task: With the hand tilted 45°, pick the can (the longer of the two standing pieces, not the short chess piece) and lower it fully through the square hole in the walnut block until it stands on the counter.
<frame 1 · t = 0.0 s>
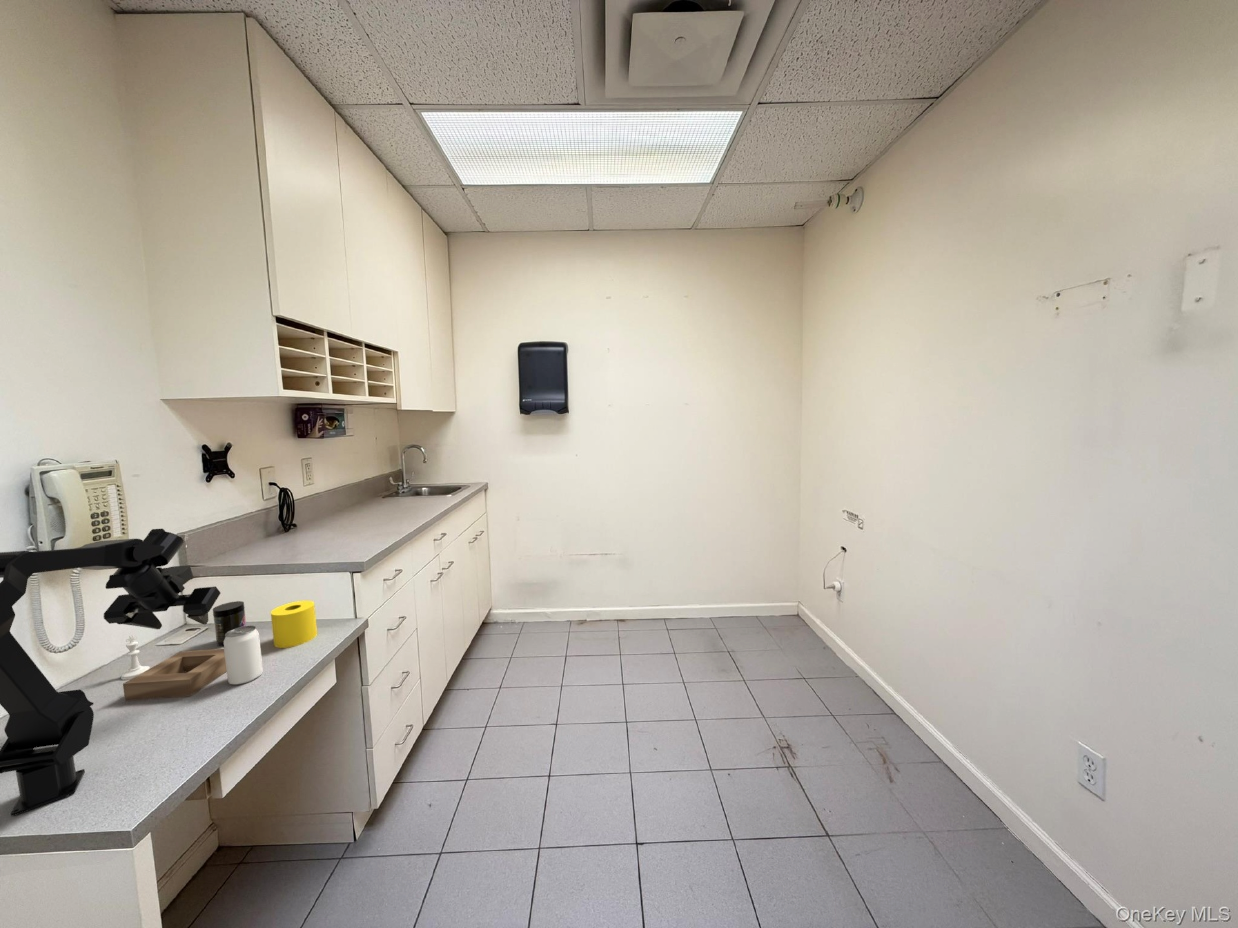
hand: (183, 625, 102), 15 cm above the table, tool tilted 35°, fingers open, 9 cm apart
can: (246, 678, 105), on the table
chess piece: (136, 674, 108), on the table
supplement container: (232, 641, 125), on the table
bored block: (186, 680, 105), on the table
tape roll: (296, 639, 125), on the table
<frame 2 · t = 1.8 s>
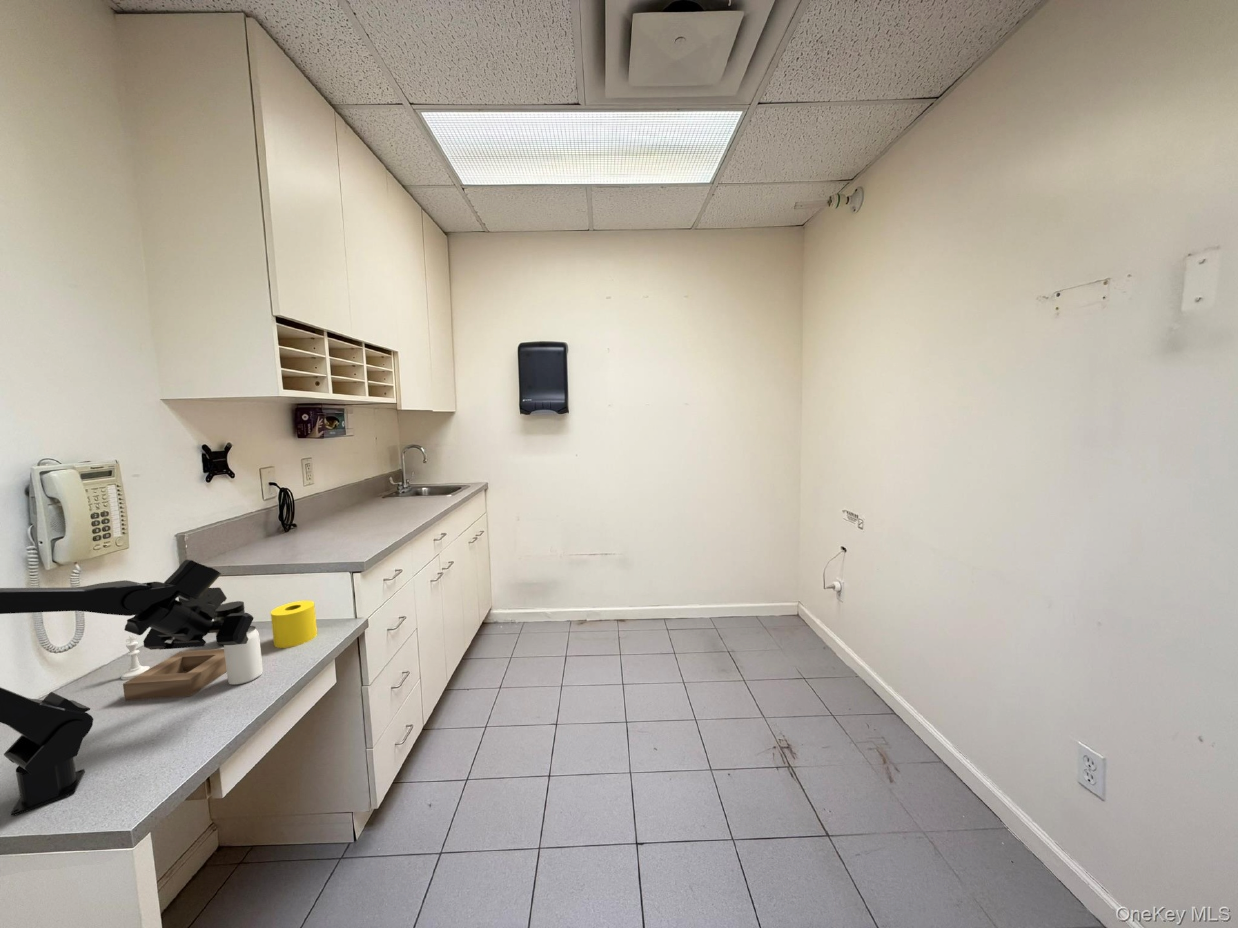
hand: (225, 642, 100), 11 cm above the table, tool tilted 45°, fingers open, 9 cm apart
nothing on the table moved.
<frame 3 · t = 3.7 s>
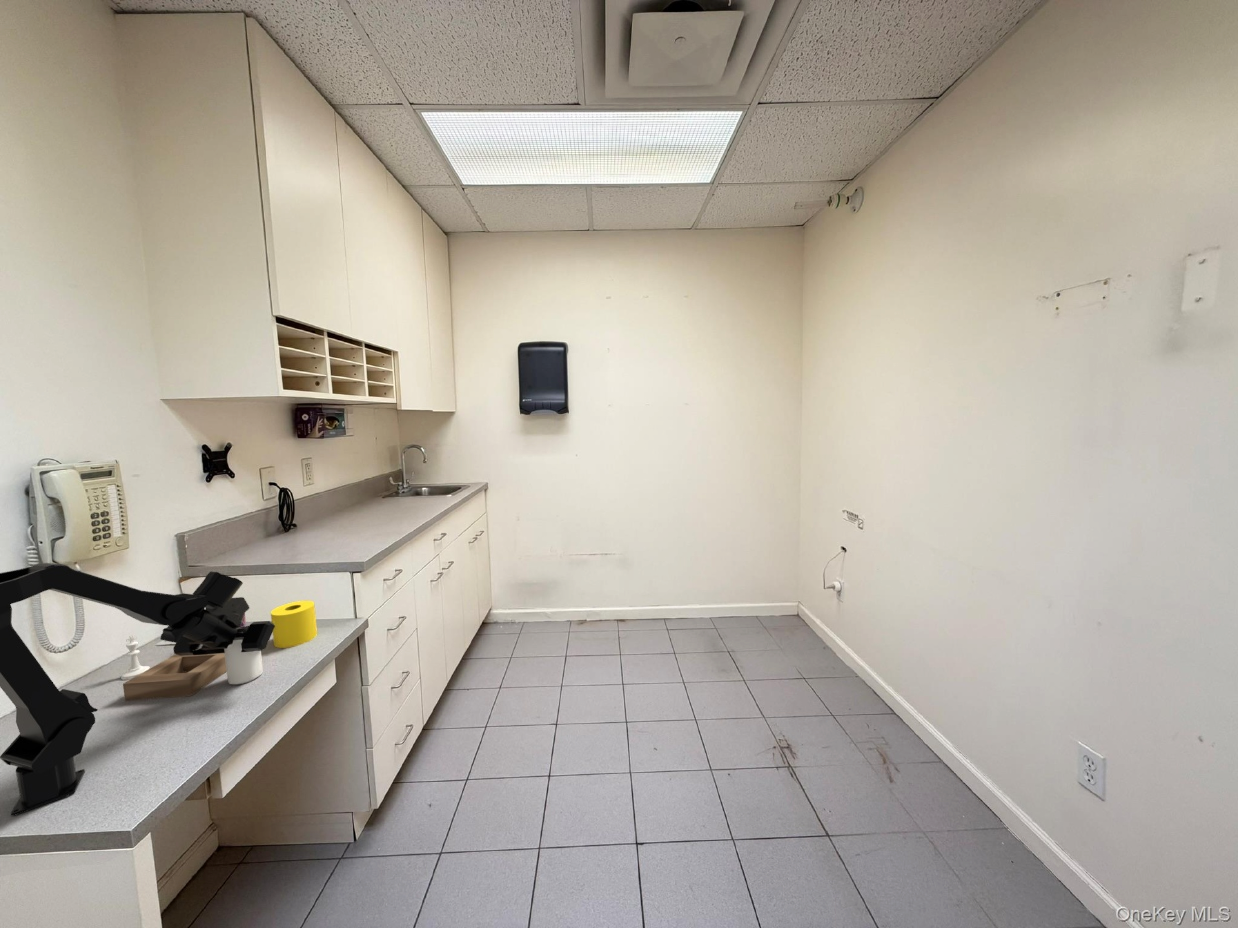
hand: (247, 648, 106), 7 cm above the table, tool tilted 45°, fingers closed on can, 6 cm apart
can: (246, 678, 105), on the table, touching gripper
everything else where it was.
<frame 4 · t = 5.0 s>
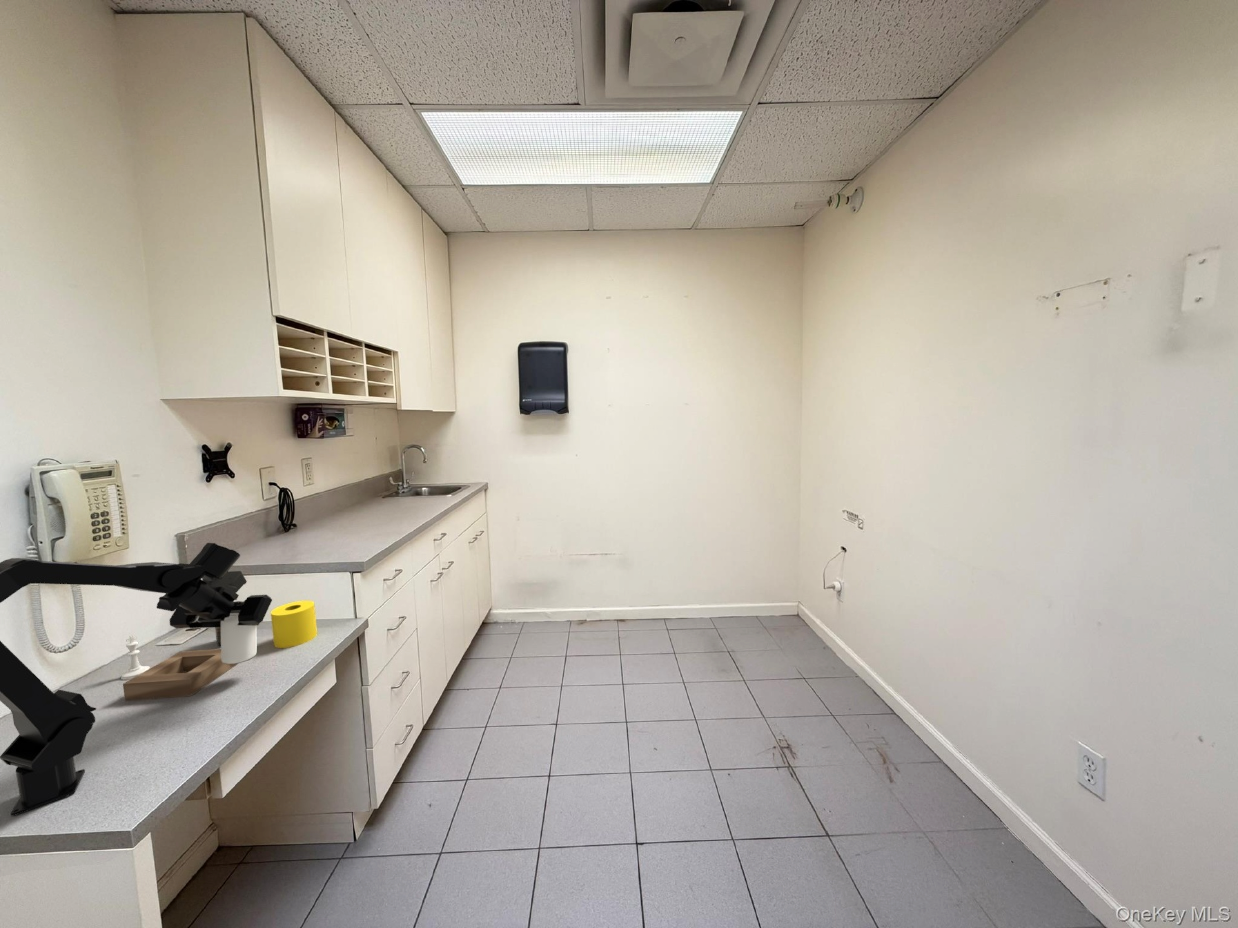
hand: (244, 624, 105), 13 cm above the table, tool tilted 45°, fingers closed on can, 6 cm apart
can: (239, 658, 105), point 5 cm above the table, touching gripper
everything else where it was.
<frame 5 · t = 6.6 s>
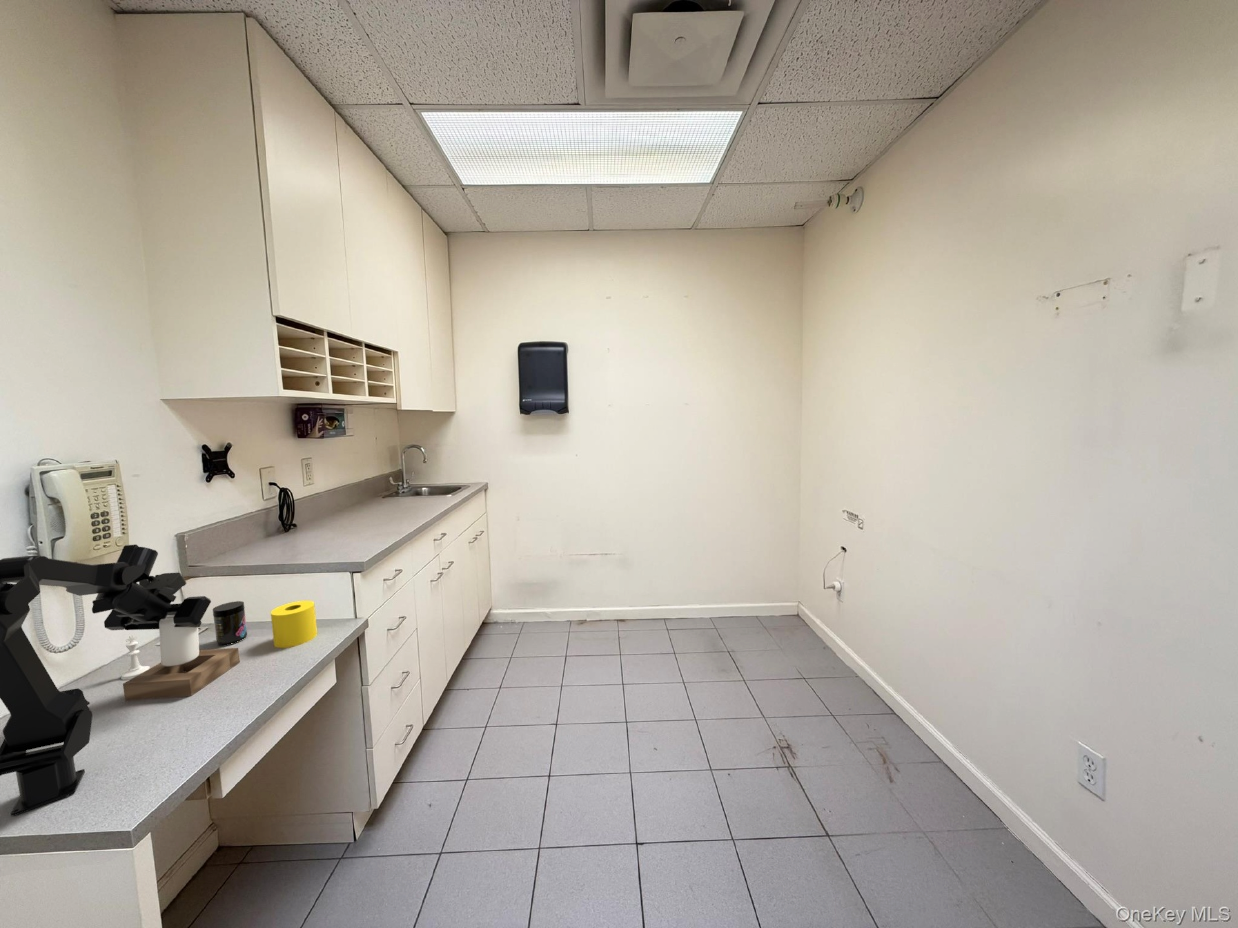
hand: (185, 625, 105), 13 cm above the table, tool tilted 45°, fingers closed on can, 6 cm apart
can: (180, 660, 104), point 5 cm above the table, touching gripper
everything else where it was.
when the fingers open (8 cm above the table, at t = 8.4 s): can stays where it is, resting in bored block.
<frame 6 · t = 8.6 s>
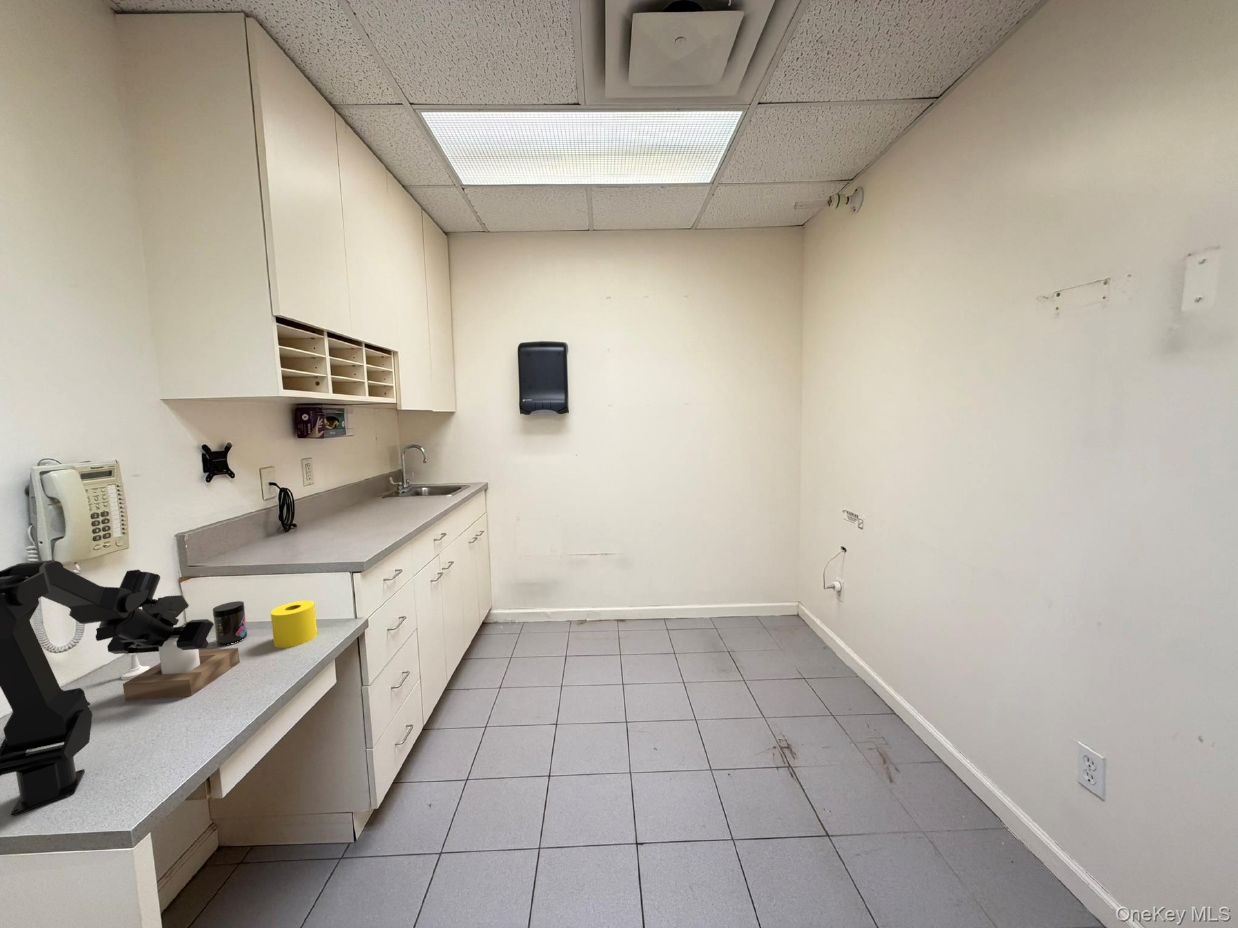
hand: (188, 647, 106), 8 cm above the table, tool tilted 45°, fingers open, 8 cm apart
can: (183, 681, 105), resting in bored block
everything else where it was.
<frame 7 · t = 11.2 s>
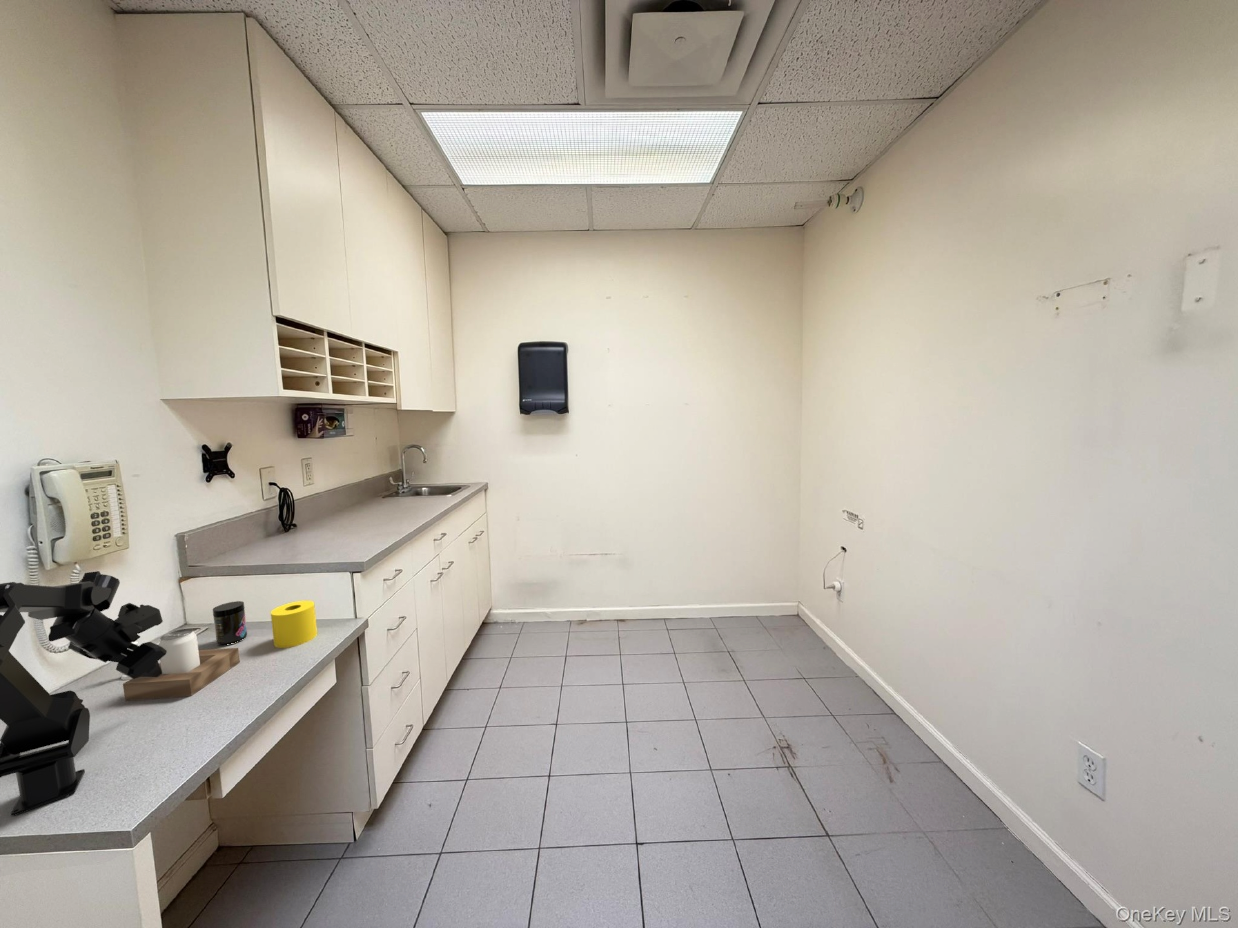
hand: (144, 667, 95), 8 cm above the table, tool tilted 35°, fingers open, 9 cm apart
nothing on the table moved.
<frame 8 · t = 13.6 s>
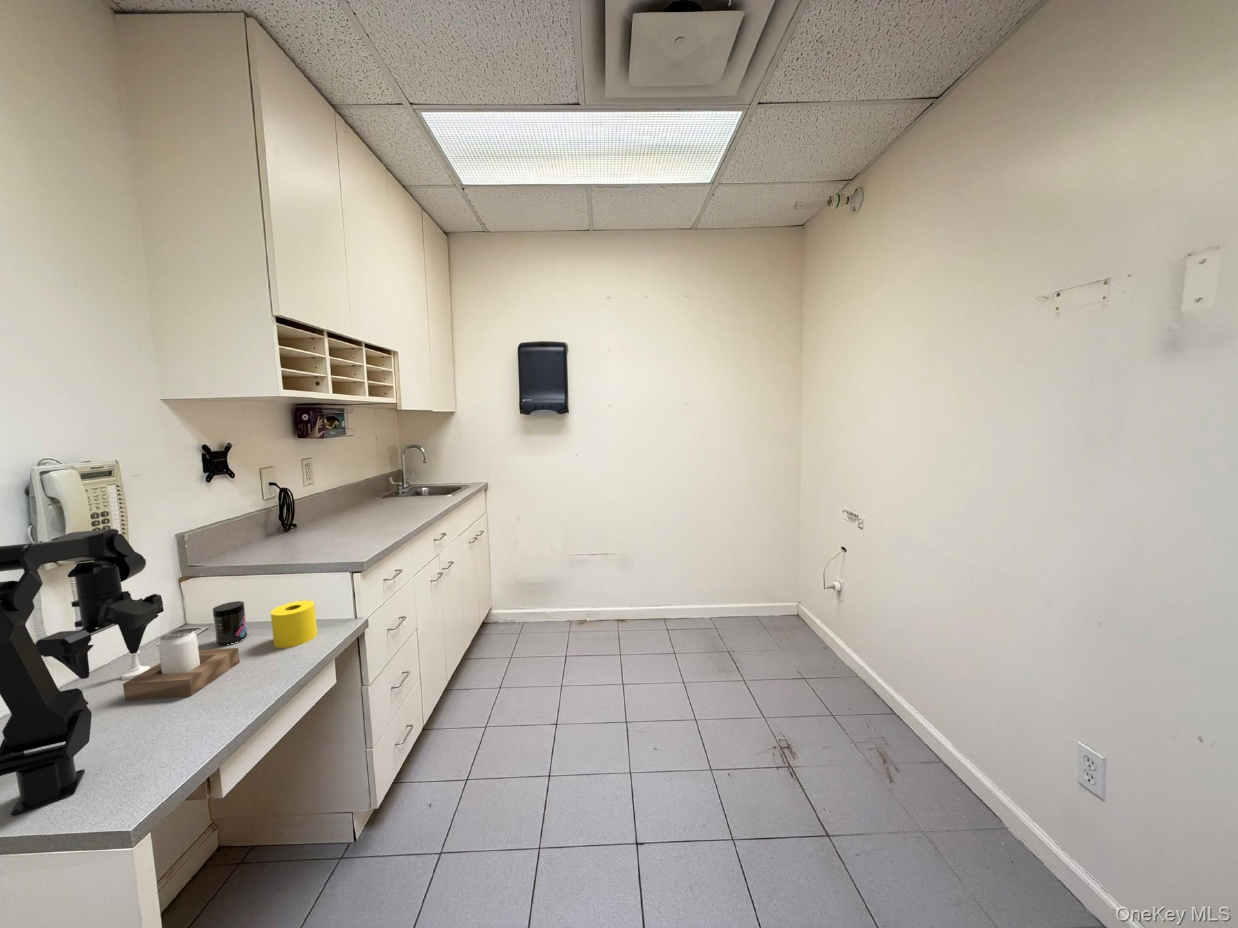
hand: (110, 665, 88), 13 cm above the table, tool pointing down, fingers open, 9 cm apart
nothing on the table moved.
at the end: can 0.7 cm from the bored block (horizontally); can resting in bored block; can tilted 0° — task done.
